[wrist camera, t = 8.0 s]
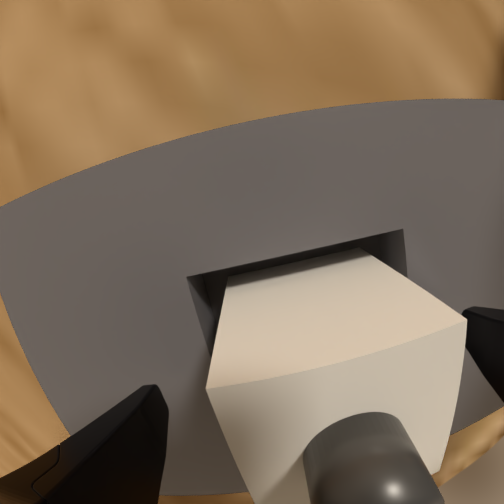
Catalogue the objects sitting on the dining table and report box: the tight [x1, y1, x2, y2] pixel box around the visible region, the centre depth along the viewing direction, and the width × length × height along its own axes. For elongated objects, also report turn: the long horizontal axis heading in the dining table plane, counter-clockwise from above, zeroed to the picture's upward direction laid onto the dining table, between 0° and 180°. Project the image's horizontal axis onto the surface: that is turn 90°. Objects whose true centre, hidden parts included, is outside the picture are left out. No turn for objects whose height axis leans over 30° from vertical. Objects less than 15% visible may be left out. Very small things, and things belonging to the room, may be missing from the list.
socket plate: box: [0, 99, 504, 496], centre depth 10 cm, size 20×13×2 cm, turn 103°
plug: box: [206, 248, 467, 504], centre depth 7 cm, size 4×4×8 cm
